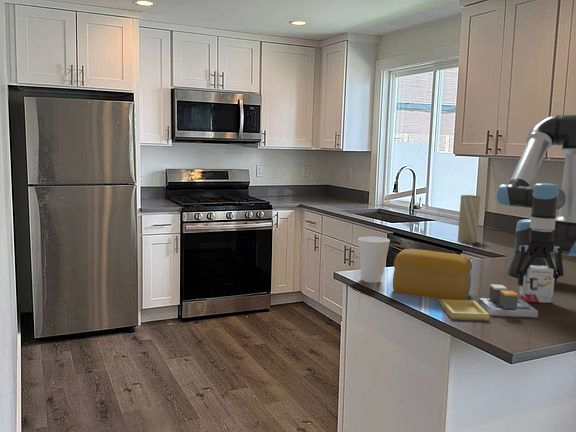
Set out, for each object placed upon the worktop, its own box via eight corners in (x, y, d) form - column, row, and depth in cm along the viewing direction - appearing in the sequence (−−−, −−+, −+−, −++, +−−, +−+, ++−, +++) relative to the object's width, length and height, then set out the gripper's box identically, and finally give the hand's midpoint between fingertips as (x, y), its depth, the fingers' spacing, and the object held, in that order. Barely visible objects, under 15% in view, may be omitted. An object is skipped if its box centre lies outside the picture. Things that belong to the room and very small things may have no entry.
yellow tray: (474, 306, 174) (474, 300, 174) (488, 320, 160) (489, 314, 160) (440, 305, 174) (440, 299, 174) (451, 319, 160) (452, 312, 160)
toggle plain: (501, 298, 176) (502, 284, 175) (505, 302, 172) (507, 288, 171) (489, 298, 176) (490, 284, 175) (493, 301, 172) (494, 287, 171)
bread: (391, 292, 188) (393, 250, 186) (402, 284, 200) (404, 244, 198) (463, 303, 177) (466, 259, 175) (470, 294, 188) (473, 252, 186)
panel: (521, 305, 176) (522, 299, 176) (537, 317, 165) (538, 310, 164) (478, 304, 177) (479, 297, 176) (491, 315, 165) (492, 308, 165)
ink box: (525, 302, 180) (528, 268, 178) (519, 298, 185) (522, 264, 183) (551, 303, 180) (555, 269, 178) (544, 298, 185) (547, 265, 183)
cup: (392, 279, 205) (394, 238, 203) (381, 286, 195) (383, 243, 193) (363, 275, 211) (365, 235, 209) (351, 281, 201) (353, 239, 199)
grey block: (511, 304, 169) (513, 290, 168) (516, 308, 165) (518, 294, 164) (498, 304, 169) (500, 290, 168) (503, 308, 165) (504, 293, 164)
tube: (479, 243, 289) (483, 197, 285) (461, 242, 289) (464, 196, 285) (473, 239, 299) (476, 195, 295) (455, 239, 299) (458, 194, 295)
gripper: (568, 228, 182) (562, 293, 185) (505, 227, 183) (500, 291, 186) (580, 232, 175) (573, 299, 178) (514, 230, 175) (508, 297, 179)
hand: (535, 295), depth 182 cm, fingers closed on ink box, 9 cm apart
